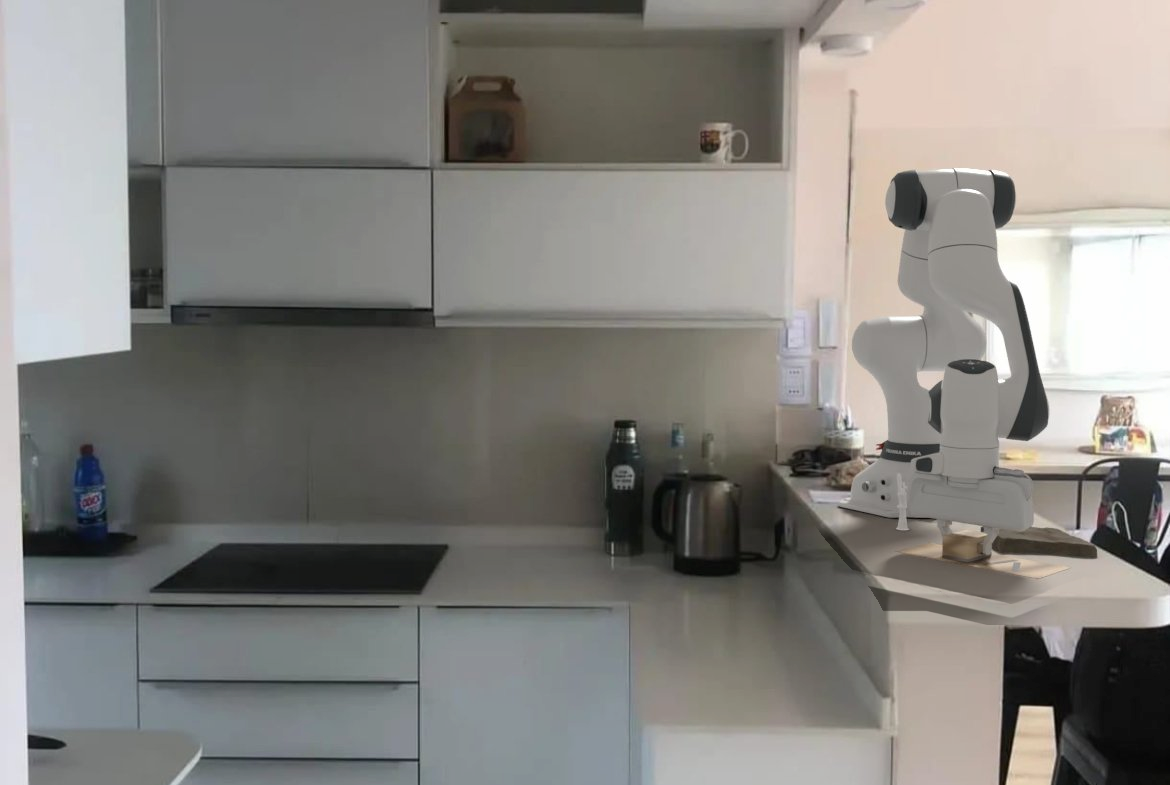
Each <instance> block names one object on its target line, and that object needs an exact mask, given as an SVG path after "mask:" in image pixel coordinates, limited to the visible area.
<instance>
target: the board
mask: <svg viewBox="0 0 1170 785" xmlns="http://www.w3.org/2000/svg"><path fill="white" fill-rule="evenodd" d="M894 552H895V553H898V554H906V555H910V556H916V557H920V558H927V559H931V560H936V561H941V562H947V563H951V564H952V563H953V564H958V565H962V566H969V567H974V568H978V569H985V570H989V571H993V572H1000V573H1005V574H1010V575H1016V576H1020V577H1021V576H1022V577H1026V578H1031V579H1037V580H1039V579H1043V578H1045V577H1049V576H1051V575H1054V574H1058V573H1060V572H1063V571H1066V570H1070V567H1069V566H1062V565H1058V564H1051V563H1046V562H1041V561H1036V560H1029V559H1024V558H1018V557H1013V556H1006V555H1001V554H996V553H992V556H989V557H985V558H982V559H978V560H975V561H971V562H962V561H957V560H952V559H946V558H942V543H941V544H940V543H933V542H926V543H922V544H918V545H914V546H910V547H907V548H903V549H900V550H899V549H898V550H895V551H894Z"/></svg>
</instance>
